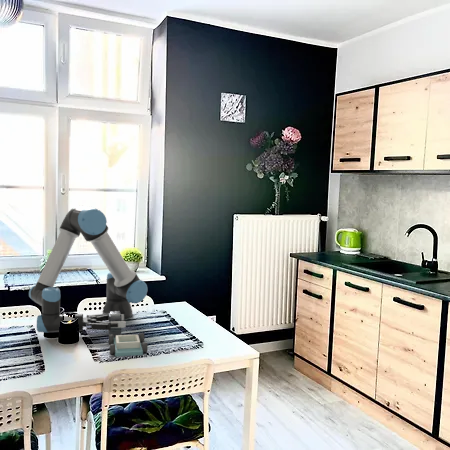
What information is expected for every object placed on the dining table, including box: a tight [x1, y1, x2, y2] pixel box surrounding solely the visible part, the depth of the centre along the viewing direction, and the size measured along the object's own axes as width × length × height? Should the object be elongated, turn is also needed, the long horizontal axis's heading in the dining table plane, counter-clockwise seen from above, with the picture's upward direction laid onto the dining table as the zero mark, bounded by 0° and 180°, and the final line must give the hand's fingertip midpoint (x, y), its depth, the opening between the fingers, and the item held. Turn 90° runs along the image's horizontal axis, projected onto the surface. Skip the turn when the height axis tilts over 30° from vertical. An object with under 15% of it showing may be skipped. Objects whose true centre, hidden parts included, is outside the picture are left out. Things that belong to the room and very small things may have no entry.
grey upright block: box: [107, 311, 123, 337], centre depth 217 cm, size 6×6×10 cm
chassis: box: [108, 332, 149, 357], centre depth 201 cm, size 18×15×4 cm
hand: (124, 320), depth 218 cm, fingers open, 10 cm apart
